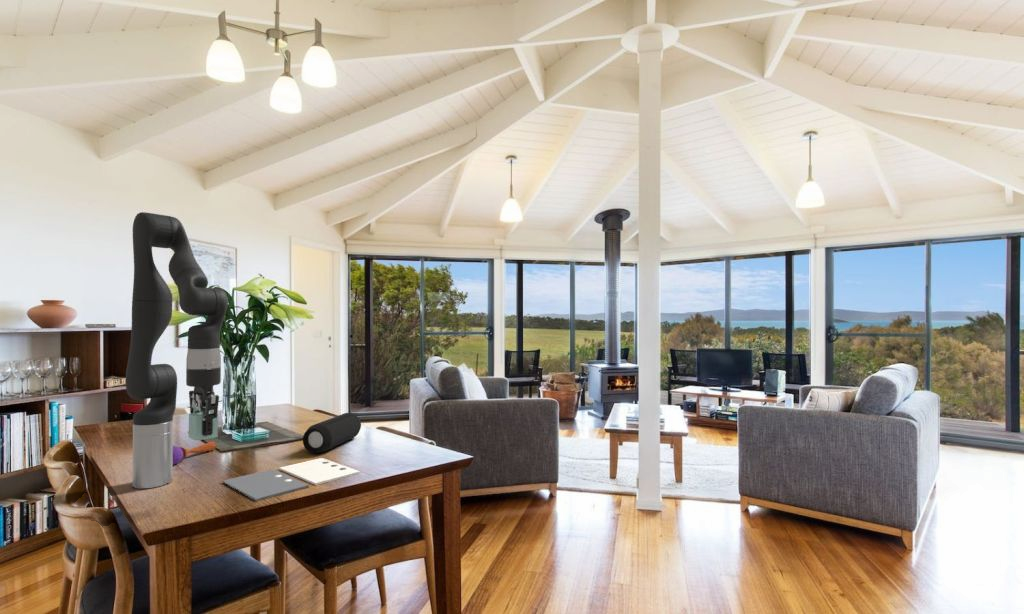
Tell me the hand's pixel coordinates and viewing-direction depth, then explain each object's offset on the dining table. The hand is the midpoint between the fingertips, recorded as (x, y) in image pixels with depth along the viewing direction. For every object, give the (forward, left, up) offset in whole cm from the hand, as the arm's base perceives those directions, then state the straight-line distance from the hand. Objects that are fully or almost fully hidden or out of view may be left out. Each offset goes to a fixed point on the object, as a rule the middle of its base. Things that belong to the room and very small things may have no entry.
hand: (203, 433), depth 130 cm
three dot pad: (-1, +32, -17) cm, 36 cm away
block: (0, 0, -1) cm, 1 cm away
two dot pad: (-1, +16, -17) cm, 24 cm away
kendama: (-47, +11, -18) cm, 51 cm away
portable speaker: (-26, +51, -18) cm, 60 cm away
